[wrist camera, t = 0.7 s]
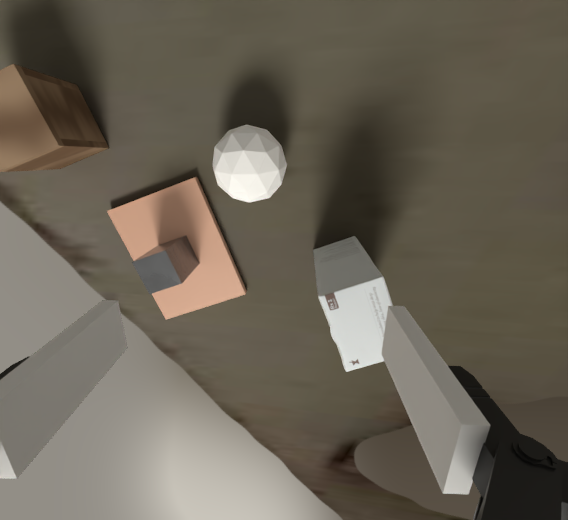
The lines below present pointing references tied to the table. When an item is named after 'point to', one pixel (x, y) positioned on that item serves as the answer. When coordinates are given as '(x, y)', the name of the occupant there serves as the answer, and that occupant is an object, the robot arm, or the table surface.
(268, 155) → the ball
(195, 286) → the base plate
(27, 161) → the cardboard carton
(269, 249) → the table surface
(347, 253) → the skincare box
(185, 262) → the post
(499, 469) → the robot arm
